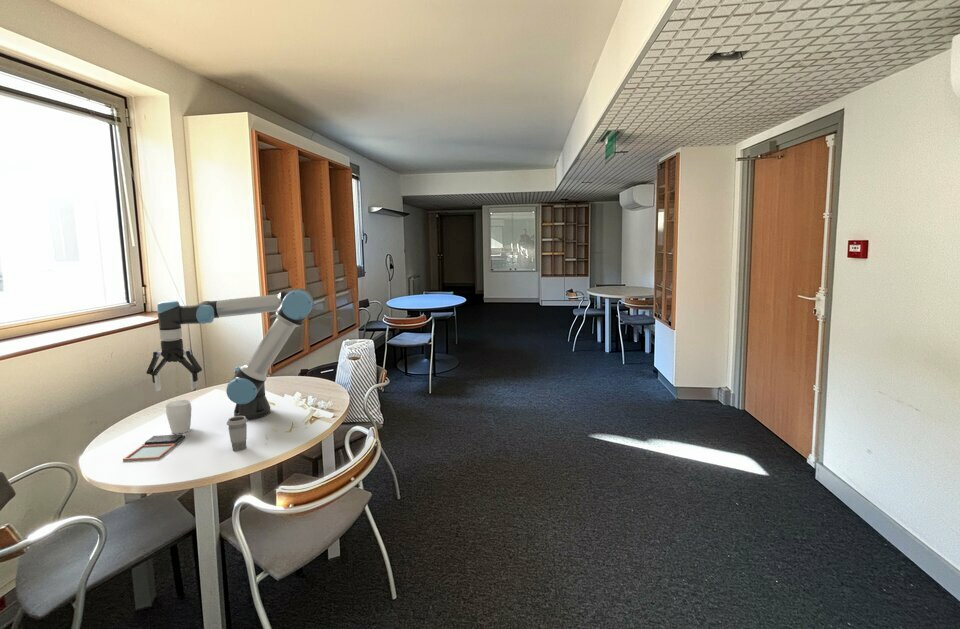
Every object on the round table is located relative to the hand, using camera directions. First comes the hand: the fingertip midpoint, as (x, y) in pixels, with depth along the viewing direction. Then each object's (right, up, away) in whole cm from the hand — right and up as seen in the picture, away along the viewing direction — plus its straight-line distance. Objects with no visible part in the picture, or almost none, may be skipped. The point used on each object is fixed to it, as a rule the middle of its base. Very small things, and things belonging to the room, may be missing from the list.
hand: (176, 389), depth 197 cm
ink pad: (+1, -19, -9) cm, 21 cm away
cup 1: (0, -18, +3) cm, 18 cm away
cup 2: (+34, -20, -15) cm, 42 cm away
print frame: (+2, -21, -19) cm, 28 cm away
